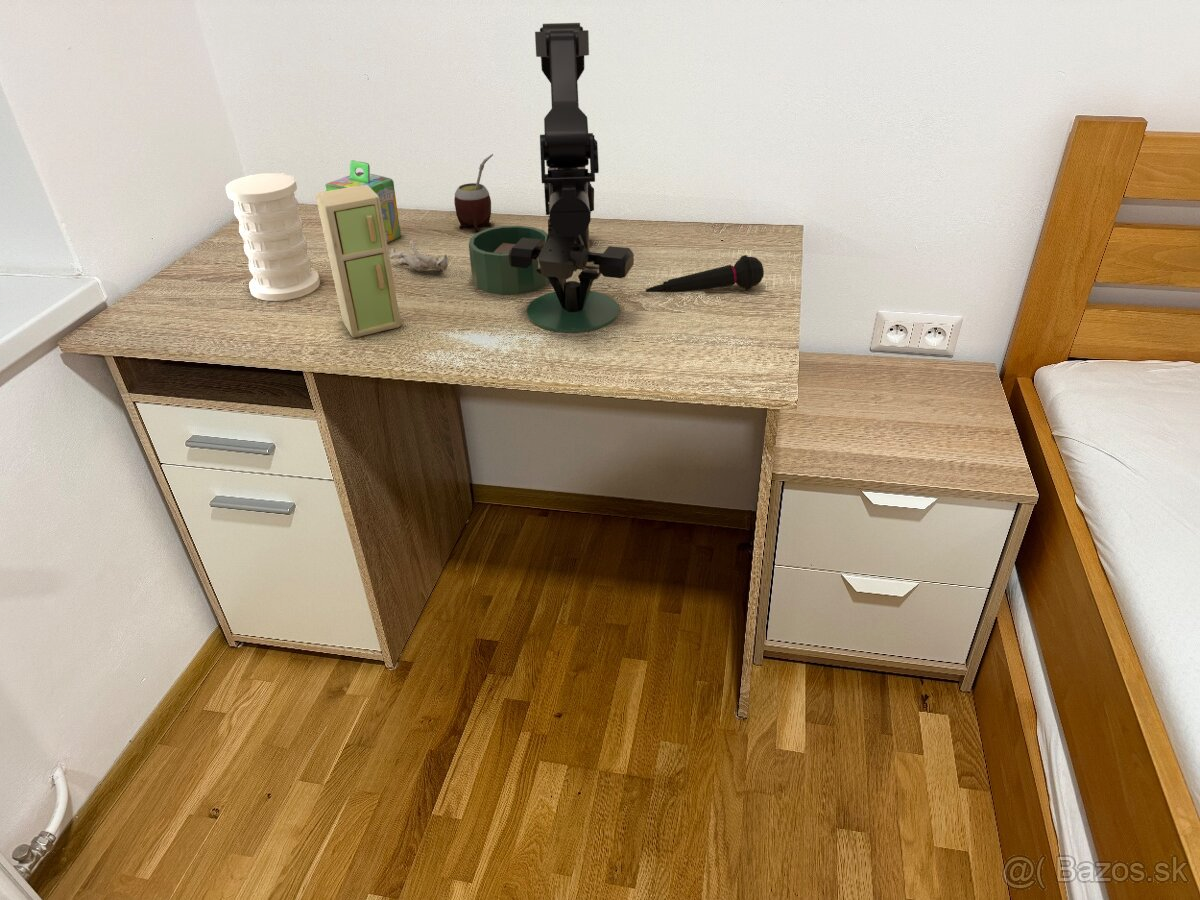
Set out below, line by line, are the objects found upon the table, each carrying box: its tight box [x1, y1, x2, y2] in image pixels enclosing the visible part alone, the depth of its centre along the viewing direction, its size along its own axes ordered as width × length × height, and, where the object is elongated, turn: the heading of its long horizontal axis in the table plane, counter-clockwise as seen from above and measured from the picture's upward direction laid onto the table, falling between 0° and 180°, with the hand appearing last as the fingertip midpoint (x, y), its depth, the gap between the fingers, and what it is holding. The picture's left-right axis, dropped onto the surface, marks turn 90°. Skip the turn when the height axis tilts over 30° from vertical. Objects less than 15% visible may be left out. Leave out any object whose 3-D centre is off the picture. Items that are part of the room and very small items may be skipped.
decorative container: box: [225, 172, 321, 302], centre depth 145 cm, size 12×12×18 cm
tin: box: [468, 225, 550, 296], centre depth 148 cm, size 14×14×8 cm
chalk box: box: [325, 160, 402, 244], centre depth 163 cm, size 9×9×15 cm
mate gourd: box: [453, 153, 494, 234], centre depth 168 cm, size 8×8×15 cm
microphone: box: [645, 254, 765, 293], centre depth 145 cm, size 6×6×20 cm
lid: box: [526, 280, 620, 334], centre depth 137 cm, size 15×15×5 cm
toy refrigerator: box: [315, 185, 402, 339], centre depth 131 cm, size 8×7×21 cm
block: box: [493, 243, 515, 254], centre depth 148 cm, size 5×5×5 cm
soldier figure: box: [389, 240, 449, 273], centre depth 153 cm, size 8×5×12 cm
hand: (572, 308), depth 138 cm, fingers closed on lid, 3 cm apart
